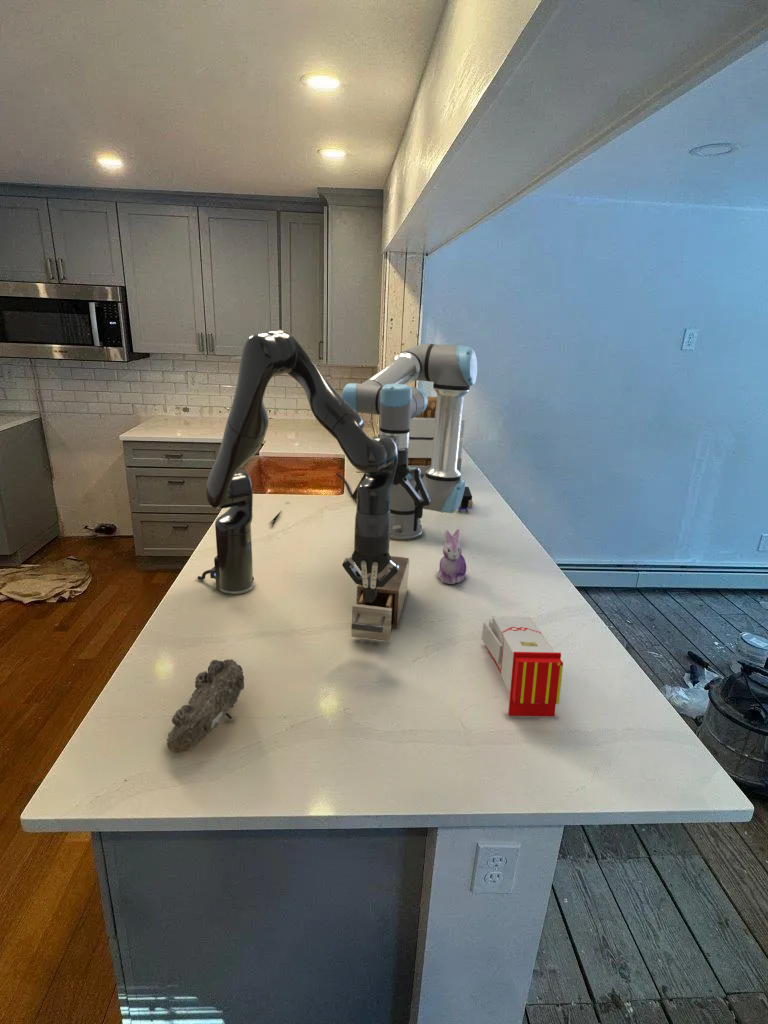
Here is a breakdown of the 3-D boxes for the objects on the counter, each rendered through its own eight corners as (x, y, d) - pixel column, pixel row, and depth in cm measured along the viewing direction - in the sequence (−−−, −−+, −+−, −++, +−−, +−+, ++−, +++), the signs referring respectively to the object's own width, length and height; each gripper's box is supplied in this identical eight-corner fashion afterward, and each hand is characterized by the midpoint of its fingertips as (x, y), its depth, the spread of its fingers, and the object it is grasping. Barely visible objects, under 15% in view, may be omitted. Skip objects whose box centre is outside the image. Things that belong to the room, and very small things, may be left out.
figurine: (448, 588, 162) (452, 539, 157) (429, 573, 171) (432, 527, 166) (475, 582, 166) (480, 534, 161) (455, 568, 175) (459, 522, 170)
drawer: (385, 655, 128) (387, 623, 125) (345, 650, 129) (346, 618, 126) (400, 603, 151) (402, 575, 148) (366, 599, 152) (367, 571, 149)
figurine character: (472, 517, 222) (467, 501, 236) (475, 500, 219) (469, 484, 233) (455, 517, 222) (451, 500, 236) (457, 499, 219) (452, 484, 232)
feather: (288, 505, 226) (290, 501, 226) (271, 529, 199) (273, 524, 199) (284, 503, 226) (287, 499, 225) (266, 526, 199) (269, 522, 199)
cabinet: (396, 627, 141) (398, 591, 138) (356, 622, 143) (357, 586, 139) (407, 591, 160) (409, 557, 156) (370, 586, 161) (372, 553, 158)
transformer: (382, 463, 289) (386, 382, 275) (445, 464, 293) (451, 384, 279) (390, 482, 257) (394, 392, 243) (460, 483, 261) (468, 394, 247)
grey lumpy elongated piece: (192, 660, 117) (244, 628, 112) (224, 691, 120) (276, 661, 115) (142, 746, 98) (202, 712, 93) (182, 779, 101) (242, 748, 96)
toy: (528, 601, 136) (572, 659, 107) (523, 653, 139) (565, 722, 110) (478, 600, 136) (508, 657, 107) (474, 652, 139) (503, 722, 109)
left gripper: (337, 532, 119) (336, 605, 124) (400, 539, 117) (396, 613, 123) (346, 520, 126) (344, 590, 131) (405, 526, 124) (401, 596, 130)
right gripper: (341, 447, 140) (340, 527, 147) (442, 455, 137) (435, 536, 144) (348, 440, 147) (346, 517, 154) (444, 448, 144) (438, 526, 151)
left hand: (369, 601), depth 127 cm, fingers closed
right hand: (389, 526), depth 149 cm, fingers open, 13 cm apart
